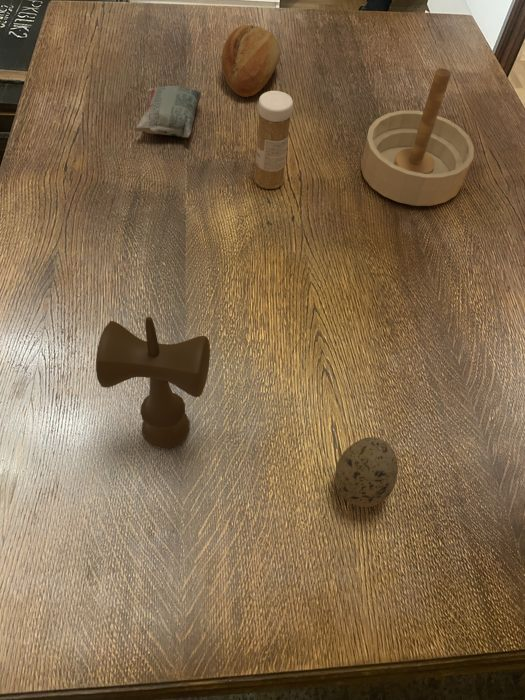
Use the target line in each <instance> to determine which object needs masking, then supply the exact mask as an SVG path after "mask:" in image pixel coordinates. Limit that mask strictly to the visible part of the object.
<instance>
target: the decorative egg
mask: <svg viewBox="0 0 525 700" xmlns="http://www.w3.org/2000/svg"><path fill="white" fill-rule="evenodd" d="M398 466H399V465H398V459H397V455H396V453H395V451H394V449H393V447H392V445H390V443H389V442H387V441H386V440H384V439H382V438H379V437H374V436H371V437H369V436H368V437H365V438H361V439H359V440H357V441H356V442H353V443H351V445H349V446H348V447H347V448H346V449H345V450H344V451H343V453H341V455H340V457H339V458H338V461H337V463H336V465H335V471H334V481H335V485H336V488H337V490H338V492H339V494H340V495H341V496H342V498H343V499H344V500H345V501H346V502H348V503H349V504H351V505H354V506H357V507H361V508H369V507H374V506H377V505H379V504H381V503H382V502H384V501H386V500H387V498H388V497H389V496H390V495H391V493H392V491H393V490H394V488H395V486H396V484H397V480H398V474H399V473H398V471H399V469H398Z"/></svg>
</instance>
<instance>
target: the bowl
mask: <svg viewBox="0 0 525 700" xmlns="http://www.w3.org/2000/svg"><path fill="white" fill-rule="evenodd" d="M422 115H423V111H421V110H398V111H392V112H388V113H385V114H384V115H381V116H380V117H378V118H376V119H375V120H374V121H373V122H372V124H371V125H370V126H369V127H368V131H367V134H366V139H365V140H366V141H365V143H364V148H363V153H362V156H361V161H360V169H361V173H362V176H363V178H364V180H365V181H366V183H368V185H369V187H370V188H372V189H373V190H374V191H376V192H377V193H378V194H380V195H381V196H382V197H384V198H387V199H389V200H392V201H394V202H397V203H400V204H405V205H410V206H413V207H414V206H415V207H416V206H417V207H424V206H426V207H427V206H428V207H430V206H437V205H439V204H443V203H446V202H448V201H450V200H451V199H452V198H454V197H456V196H457V195H458V193H459V192H460V191H461V189H462V187H463V185H464V182H465V180H466V177H467V175H468V173H469V171H470V168H471V165H472V163H473V162H474V158H475V146H474V143H473V141H472V139H471V137H470V136H469V135H468V133H466V132H465V130H464V129H463V128H462V127H461V126H459V125H458V124H456V123H455V122H453V121H451V119H450V120H449V119H448V118H445V117H442V116H440V115H437V118H436V121H435V124H434V127H433V130H432V133H431V136H430V139H429V142H428V145H427V148H426V151H425V152H427V153H428V154H430V155H431V156H432V157H433V159H434V161H435V167H434V170H433V172H432V174H423V173H418V172H413V171H408V170H406V169H404V168H401V167H399V166H396V165H394V160H395V157H396V155H397V153H398V152H399V151H401V150H403V149H407V148H412V147H413V144H414V141H415V137H416V134H417V131H418V128H419V124H420V121H421V118H422Z"/></svg>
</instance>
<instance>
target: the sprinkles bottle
mask: <svg viewBox="0 0 525 700" xmlns="http://www.w3.org/2000/svg"><path fill="white" fill-rule="evenodd" d="M293 105H294V102H293V98H292V97H291V95H289V94H288V93H286V92H285V91H280V90H269V91H265V92H263V93H262V94H261V95H260V96H259V98H258V105H257V107H258V108H257V111H258V115H259V116H258V127H257V138H256V152H255V172H254V176H253V177H254V182H255V184H256V185H257V186H259V187H260V188H262V189H266V190H274V189H279V188H280V187H281V186H282V185H283V184H284V183H285V176H284V175H285V167H286V164H287V163H286V162H287V153H288V144H289V137H290V132H289V131H290V123H291V117H292V114H293V107H294V106H293Z"/></svg>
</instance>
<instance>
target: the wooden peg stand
mask: <svg viewBox="0 0 525 700" xmlns="http://www.w3.org/2000/svg"><path fill="white" fill-rule="evenodd" d="M451 76H452V72H451V71H450V70H449V69H446V68H438V69H436V70H435V73H434V76H433V79H432V83H431V86H430V88H429V92H428V96H427V99H426V102H425V105H424V108H423V111H422V112H423V115H422V118H421V121H420V124H419V128H418V131H417V134H416V137H415V141H414V144H413V147H412V148H407V149H403V150H401V151H399V152H398V153H397V155H396V157H395V160H394V165H396V166H399V167H401V168H404V169H406V170H408V171H413V172H418V173H423V174H432V172H433V170H434V167H435V161H434V159H433V157H432V156H431V155H430V154H428V153H427V152H425V151H426V148H427V145H428V142H429V139H430V136H431V133H432V130H433V127H434V124H435V121H436V118H437V116H439V112H440V109H441V106H442V102H443V100H444V98H445V97H444V96H445V94H446V91H447V88H448V85H449V82H450V79H451Z"/></svg>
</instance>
